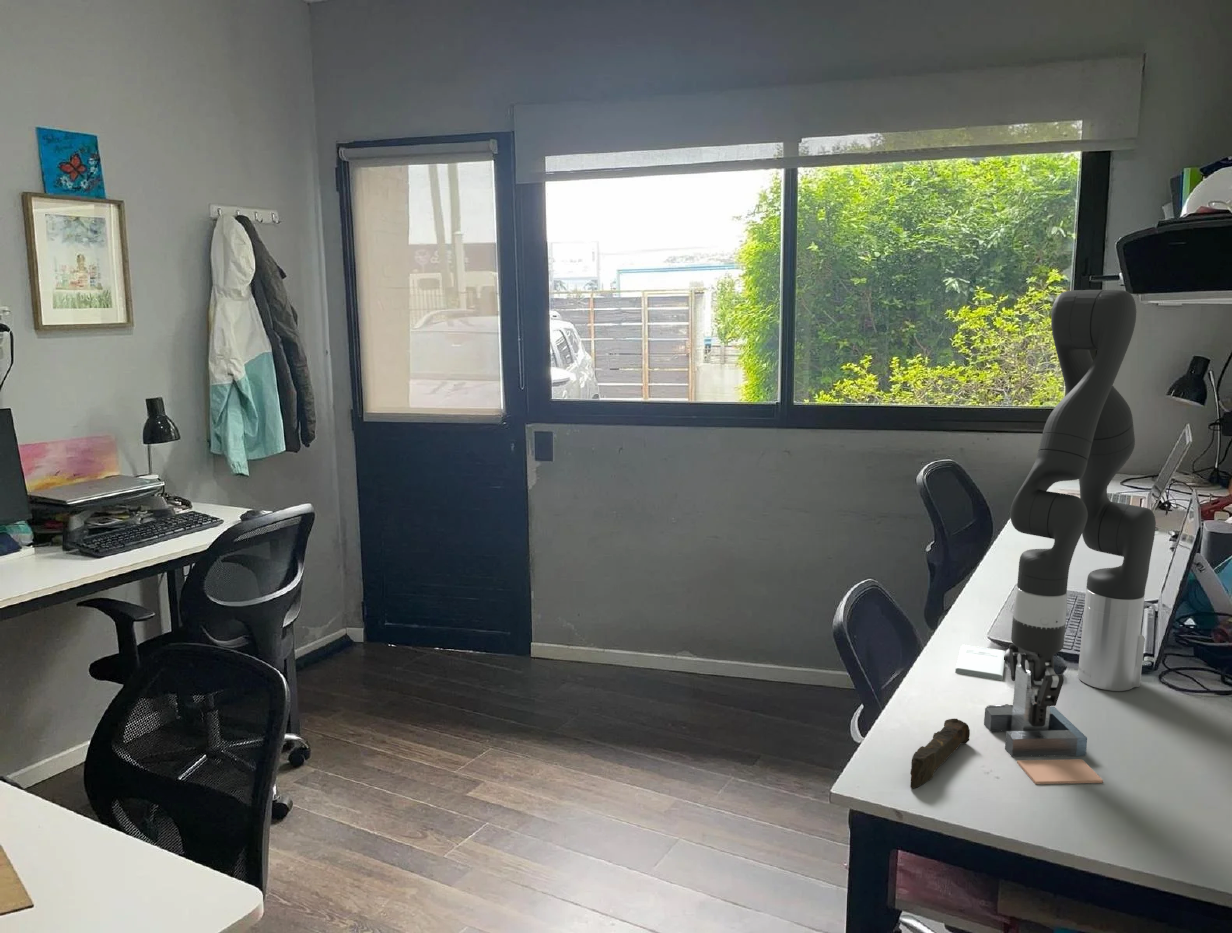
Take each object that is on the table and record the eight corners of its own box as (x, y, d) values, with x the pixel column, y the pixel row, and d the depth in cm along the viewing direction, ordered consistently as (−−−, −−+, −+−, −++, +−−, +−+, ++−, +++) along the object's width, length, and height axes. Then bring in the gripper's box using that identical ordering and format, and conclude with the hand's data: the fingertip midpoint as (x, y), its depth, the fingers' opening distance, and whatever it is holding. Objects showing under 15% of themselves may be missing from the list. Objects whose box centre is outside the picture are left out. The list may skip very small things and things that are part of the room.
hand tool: (945, 737, 149) (946, 710, 148) (969, 744, 146) (971, 718, 145) (893, 785, 135) (894, 756, 134) (919, 794, 133) (921, 765, 132)
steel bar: (1034, 733, 149) (1041, 664, 147) (1046, 745, 145) (1053, 674, 143) (1010, 733, 149) (1016, 664, 147) (1021, 746, 145) (1027, 675, 143)
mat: (1081, 761, 141) (1081, 759, 140) (1102, 782, 135) (1103, 780, 135) (1016, 762, 140) (1017, 760, 140) (1035, 783, 134) (1035, 781, 134)
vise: (1042, 713, 156) (1044, 697, 155) (1085, 755, 142) (1087, 737, 142) (975, 714, 156) (976, 698, 155) (1011, 756, 142) (1013, 739, 141)
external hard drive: (954, 675, 173) (960, 651, 184) (1002, 683, 169) (1005, 657, 180) (955, 667, 172) (961, 643, 183) (1002, 674, 169) (1005, 649, 180)
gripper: (1086, 633, 136) (1076, 740, 140) (1041, 600, 150) (1032, 698, 154) (1036, 634, 136) (1027, 740, 140) (995, 601, 150) (988, 698, 153)
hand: (1030, 717), depth 147 cm, fingers closed on steel bar, 4 cm apart
